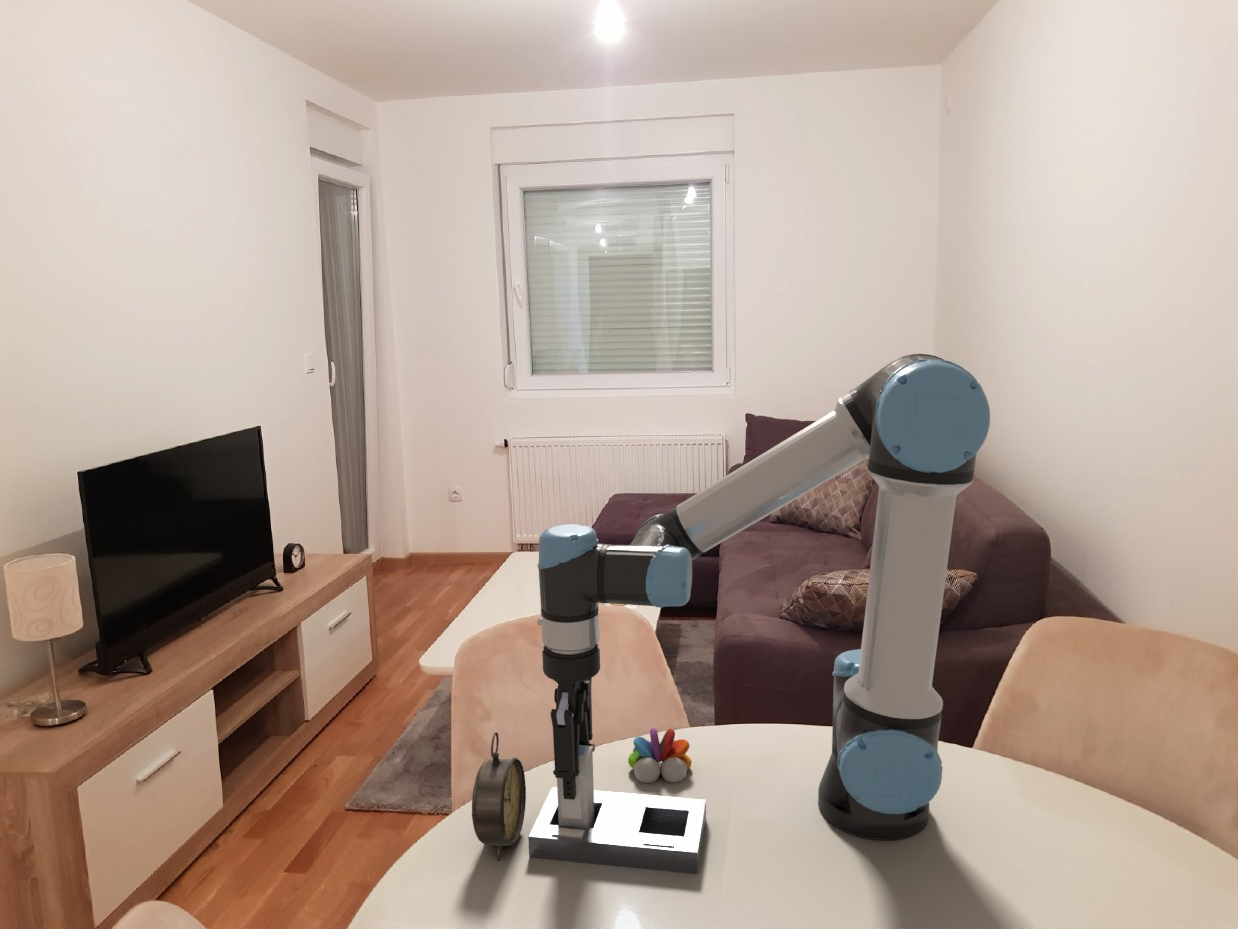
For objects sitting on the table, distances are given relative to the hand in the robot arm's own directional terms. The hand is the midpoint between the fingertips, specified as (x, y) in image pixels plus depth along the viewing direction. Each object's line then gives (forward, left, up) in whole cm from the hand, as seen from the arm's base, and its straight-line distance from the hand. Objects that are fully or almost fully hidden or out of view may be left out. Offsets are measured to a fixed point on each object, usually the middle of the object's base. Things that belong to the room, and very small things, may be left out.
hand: (576, 806), depth 120 cm
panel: (-6, 0, -5) cm, 8 cm away
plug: (0, 0, -4) cm, 4 cm away
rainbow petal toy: (-9, -18, -5) cm, 21 cm away
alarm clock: (+10, +3, -5) cm, 12 cm away
